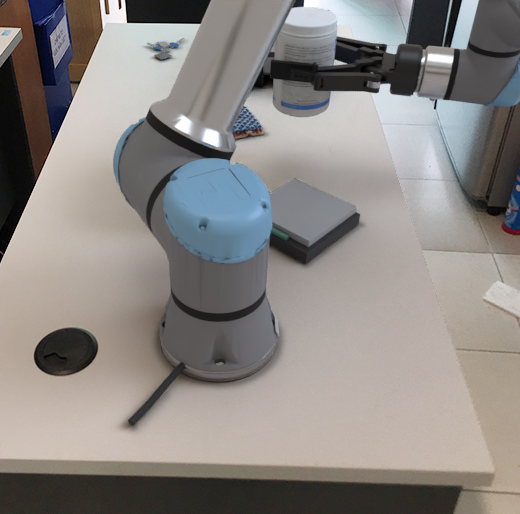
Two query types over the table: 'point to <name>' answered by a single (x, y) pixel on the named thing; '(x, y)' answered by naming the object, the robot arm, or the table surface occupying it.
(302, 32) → the supplement tub
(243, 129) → the woven mat
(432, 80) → the robot arm
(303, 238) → the scale
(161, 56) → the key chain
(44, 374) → the table surface
